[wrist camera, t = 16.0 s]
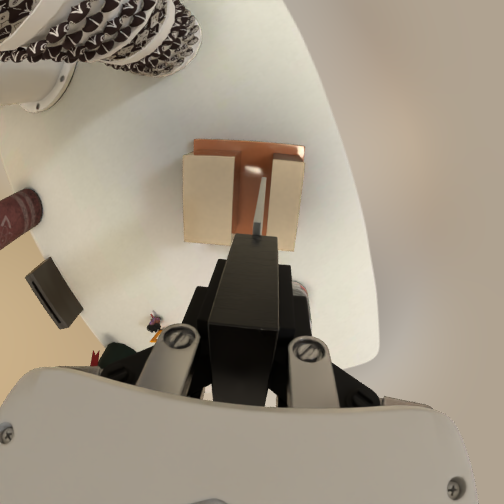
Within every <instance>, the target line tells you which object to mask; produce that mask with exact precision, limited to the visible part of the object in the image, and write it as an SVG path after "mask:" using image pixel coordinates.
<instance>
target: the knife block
mask: <svg viewBox="0 0 504 504" xmlns="http://www.w3.org/2000/svg"><path fill="white" fill-rule="evenodd" d="M25 279H26V280H27V282H28V283H29V285H30V287H31V288H32V290H33V292H34V293H35V295H36V296H37V298H38V299H39V301H40V302H41V304H42V305H43V307H44V308H45V310H46V311H47V313H48V314H49V315H50V317H51V318H52V319H53V321H54V322H55V324H56V325H57V326H58V328H59V329H64V328H68V327H69V326H70V325H71V324H72V323H73V321H74V320H75V319H76V317H77V316H78V315H79V314H80V312H81V311H82V310H83V308H82V307H81V305H80V304H79V302H78V301H77V299H76V298H75V296H74V295H73V293H72V292H71V290H70V289H69V287H68V285H67V284H66V282H65V281H64V279H63V277H62V276H61V274H60V273H59V271H58V269H57V268H56V266H55V264H54V262H53V261H52V259H51V257H50V258H48V259H47V260H45V261H43V262H42V263H41V264H40V265H38V266H37V267H36V268H35V269H34V270H32V271H31V273H29V274H28V275H27V276H26V277H25Z"/></svg>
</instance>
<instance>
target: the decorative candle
mask: <svg viewBox="0 0 504 504" xmlns="http://www.w3.org/2000/svg"><path fill="white" fill-rule="evenodd" d="M201 42H202V29H201V28H200V26H199V24H198V22H197V20H196V19H195V17H194V16H191V12H190V11H188V10H187V9H185V7H184V5H183V4H180V2H179V0H0V61H2V62H7V61H8V60H10V59H11V60H12V61H13V62H14V63H19V62H22V61H23V60H24V59H26V58H27V60H28V61H29V62H30V63H36V62H38V61H39V60H41V59H42V60H49V59H52V61H54V62H61V61H63V60H64V61H65V62H66V63H73V62H75V61H80V62H90V63H92V62H95V61H97V60H98V61H99V62H103V63H105V64H106V65H107V66H112V67H113V68H114V69H122V70H123V71H130V72H131V73H134V74H139V75H147V76H152V77H162V76H168V75H172V74H173V73H175V72H177V71H179V70H181V69H183V68H185V67H186V65H187V64H188V63H189V62H190V61H191V60H192V59H193V58H194V57H195V56H196V54H197V52H198V49H199V47H200V45H201ZM22 47H27V49H25V48H22ZM13 51H15V52H13Z"/></svg>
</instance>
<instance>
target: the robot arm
mask: <svg viewBox="0 0 504 504" xmlns="http://www.w3.org/2000/svg"><path fill="white" fill-rule="evenodd" d="M22 48H25V49H27V47H22ZM13 52H15V51H13ZM75 65H76V61H75V62H73V63H66V62H65V61H64V60H63V61H61V62H54V61H52V59H49V60H42V59H41V60H39V61H38V62H36V63H30V62H29V61H28V60H27V58H26V59H24V60H23V61H22V62H19V63H14V62H13V61H12V60H11V59H10V60H8V61H7V62H2V61H0V106H6V105H13V104H20V105H21V107H22V108H23V109H24V110H26V111H27V112H31V113H36V112H42V111H45V110H46V109H48V108H50V107H51V106H52V105H54V104H55V103H56V102H57V100H58V99H59V98H60V97H61V96H62V94H63V93H64V91H65V90H66V88H67V86H68V84H69V82H70V80H71V77H72V75H73V72H74V69H75ZM226 261H227V260H224V259H218V261H217V264H216V267H215V270H214V272H213V275H212V278H211V281H210V283H209V286H208V287H201V286H198V287H197V288H196V290H195V292H194V295H193V297H192V299H191V302H190V304H189V307H188V309H187V312H186V314H185V317H184V319H183V321H182V324H181V323H178V324H173V325H170V326H168V327H166V328H165V329H163V331H162V332H161V333H160V335H159V337H158V339H157V341H156V343H155V345H154V346H152V347H150V348H147V349H145V350H142V351H140V352H137V353H135V354H133V355H130V356H128V357H125V358H123V359H120V360H118V361H115V362H113V363H111V364H109V365H107V366H106V367H105V368H104V369H100V367H99V366H74V367H73V366H58V367H42V368H37V369H33V370H31V371H29V372H28V373H26V374H25V375H24V376H23V377H22V378H21V379H20V380H19V381H18V382H17V384H16V385H15V386H14V388H13V389H12V390H11V392H10V393H9V394H8V396H7V397H6V399H5V401H4V402H3V404H2V406H1V407H0V504H479V503H478V497H477V491H476V485H475V480H474V475H473V471H472V466H471V463H470V459H469V456H468V453H467V450H466V447H465V444H464V442H463V439H462V436H461V434H460V432H459V430H458V428H457V426H456V425H455V423H454V422H453V420H452V419H451V418H450V417H449V416H447V415H446V414H444V413H442V412H440V411H437V410H434V409H433V408H431V407H430V406H428V405H425V404H420V403H415V402H410V401H405V400H400V399H395V398H391V397H386V396H384V398H383V399H382V398H379V397H378V396H377V394H376V393H375V392H374V391H372V390H371V389H370V388H368V387H367V386H365V385H364V384H362V383H361V382H359V381H358V380H356V379H355V378H353V377H352V376H351V375H349V374H348V373H346V372H345V371H343V370H342V369H340V368H339V367H338V366H336V365H335V364H333V363H332V362H331V358H330V353H329V349H328V347H327V345H326V344H325V343H324V342H323V341H321V340H320V339H318V338H315V337H312V333H311V326H310V318H309V311H308V304H307V298H306V296H297V295H293V288H292V276H291V266H290V265H280V264H278V278H279V333H278V339H277V344H276V350H275V355H274V361H273V366H272V371H271V376H270V382H269V387H268V389H270V390H271V391H273V392H274V393H275V394H276V395H277V397H276V407H262V406H250V405H240V404H231V403H223V402H215V401H208V400H203V396H204V393H205V387H206V386H208V385H210V384H212V383H211V370H210V356H209V340H208V320H209V316H210V313H211V310H212V306H213V303H214V300H215V297H216V293H217V290H218V287H219V283H220V280H221V277H222V274H223V271H224V267H225V264H226Z"/></svg>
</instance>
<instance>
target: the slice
mask: <svg viewBox="0 0 504 504" xmlns="http://www.w3.org/2000/svg"><path fill="white" fill-rule="evenodd" d="M304 168H305V163H304V161H303V160H302V158H301V157H300V156H299V155H290V154H280V153H273V164H272V175H271V187H270V198H269V210H268V221H267V232H266V236H274V237H277V238H278V250H282V251H294V246H295V239H296V232H297V225H298V217H299V210H300V202H301V194H302V186H303V177H304Z"/></svg>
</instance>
